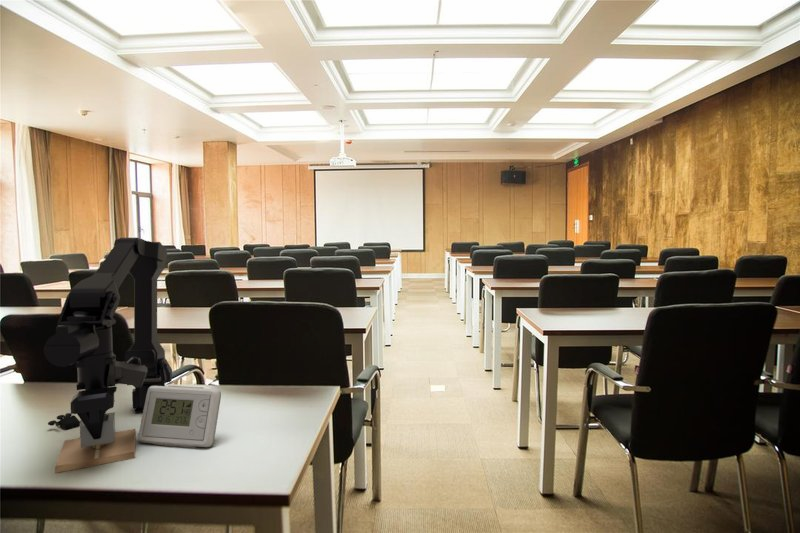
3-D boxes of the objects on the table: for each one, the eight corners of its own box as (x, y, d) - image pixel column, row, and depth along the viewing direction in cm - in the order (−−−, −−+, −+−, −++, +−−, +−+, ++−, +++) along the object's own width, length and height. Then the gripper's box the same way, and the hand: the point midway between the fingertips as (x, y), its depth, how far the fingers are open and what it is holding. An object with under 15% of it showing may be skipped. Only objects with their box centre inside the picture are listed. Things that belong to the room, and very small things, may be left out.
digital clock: (132, 443, 94) (131, 391, 93) (169, 426, 102) (168, 378, 102) (197, 457, 88) (195, 401, 87) (230, 438, 97) (229, 386, 96)
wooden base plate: (135, 434, 98) (134, 411, 98) (134, 457, 88) (133, 433, 87) (65, 446, 92) (64, 422, 92) (55, 473, 82) (54, 446, 82)
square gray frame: (83, 437, 91) (82, 413, 91) (115, 431, 93) (114, 409, 93) (80, 447, 86) (79, 423, 86) (114, 441, 89) (113, 418, 89)
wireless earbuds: (54, 429, 98) (44, 416, 101) (53, 439, 99) (43, 426, 101) (91, 418, 104) (81, 406, 107) (90, 428, 105) (79, 416, 107)
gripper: (144, 358, 85) (146, 443, 85) (143, 338, 101) (146, 410, 102) (68, 366, 79) (72, 457, 80) (81, 344, 96) (84, 419, 97)
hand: (98, 433), depth 90 cm, fingers closed on square gray frame, 5 cm apart
